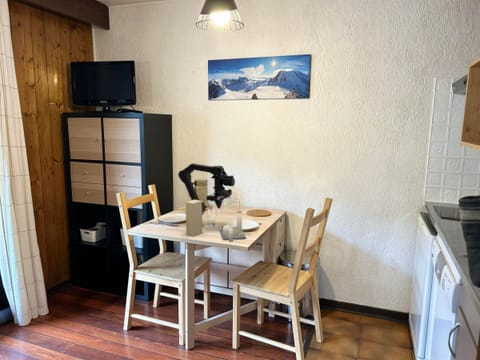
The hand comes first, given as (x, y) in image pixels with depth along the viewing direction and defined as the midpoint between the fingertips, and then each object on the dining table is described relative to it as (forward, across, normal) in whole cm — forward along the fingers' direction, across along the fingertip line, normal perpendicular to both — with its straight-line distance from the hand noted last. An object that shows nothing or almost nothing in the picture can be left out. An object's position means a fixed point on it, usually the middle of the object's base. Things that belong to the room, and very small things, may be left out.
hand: (219, 208), depth 229 cm
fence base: (+13, -14, -18) cm, 26 cm away
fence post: (+12, -6, -18) cm, 22 cm away
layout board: (+13, -7, -16) cm, 21 cm away
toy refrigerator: (+13, -18, +6) cm, 23 cm away
